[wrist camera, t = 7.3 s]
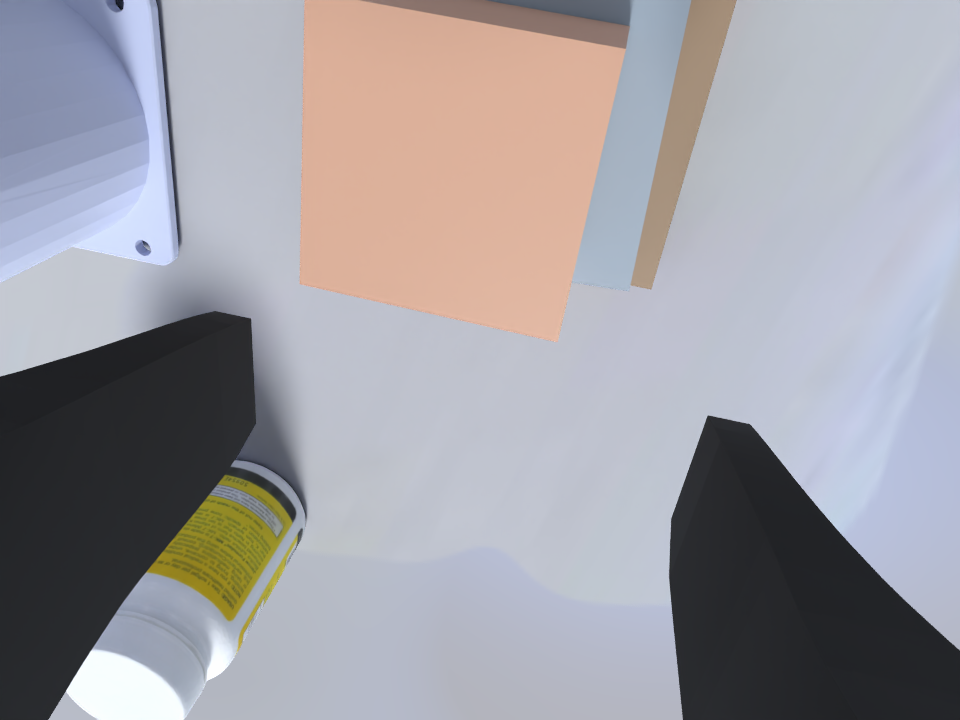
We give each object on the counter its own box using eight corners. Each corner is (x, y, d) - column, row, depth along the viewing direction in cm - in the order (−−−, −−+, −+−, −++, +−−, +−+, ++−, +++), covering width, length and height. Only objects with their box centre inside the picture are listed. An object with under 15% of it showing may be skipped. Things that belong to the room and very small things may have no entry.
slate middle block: (384, 216, 19) (352, 249, 17) (389, -69, 15) (351, -75, 13) (628, 252, 18) (629, 291, 16) (689, -38, 15) (699, -39, 13)
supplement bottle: (182, 451, 27) (20, 628, 20) (297, 460, 26) (171, 648, 19) (211, 544, 29) (75, 733, 22) (317, 555, 28) (212, 755, 21)
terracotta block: (382, 207, 16) (299, 284, 12) (400, -16, 14) (304, -10, 10) (578, 249, 15) (557, 342, 12) (629, 26, 13) (626, 49, 9)
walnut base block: (385, 202, 21) (358, 229, 19) (409, -114, 17) (378, -126, 15) (648, 255, 20) (651, 289, 18) (739, -61, 16) (755, -65, 14)
